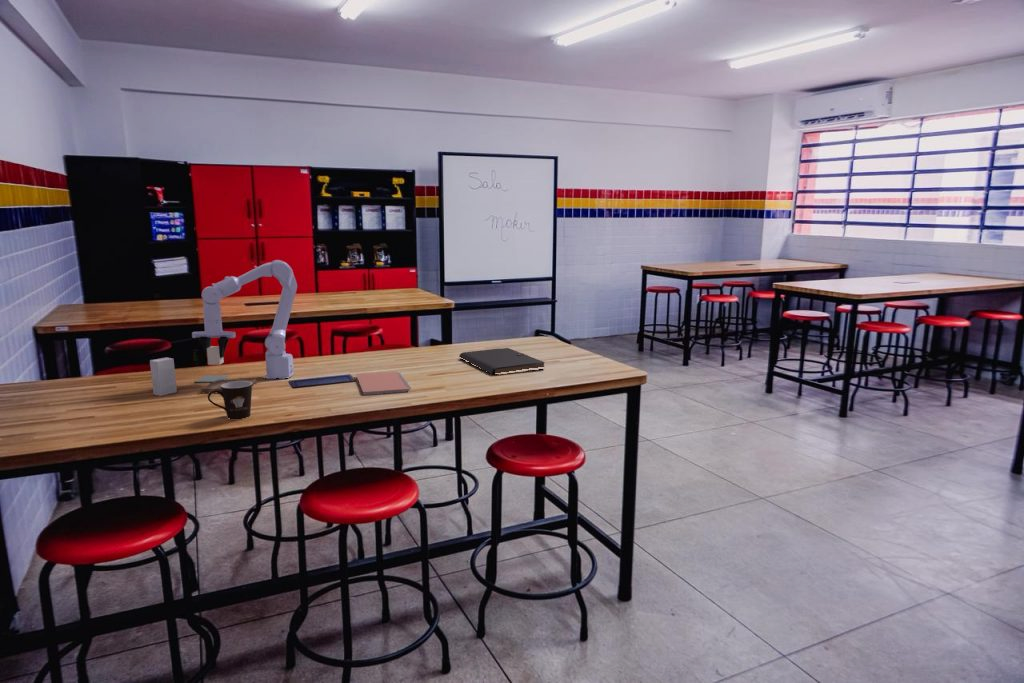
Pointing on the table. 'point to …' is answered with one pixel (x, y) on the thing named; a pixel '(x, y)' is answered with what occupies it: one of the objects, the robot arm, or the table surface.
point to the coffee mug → (235, 399)
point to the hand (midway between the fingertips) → (215, 357)
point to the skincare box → (163, 376)
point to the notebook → (382, 383)
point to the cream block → (214, 356)
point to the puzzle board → (217, 385)
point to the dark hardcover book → (501, 360)
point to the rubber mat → (211, 378)
